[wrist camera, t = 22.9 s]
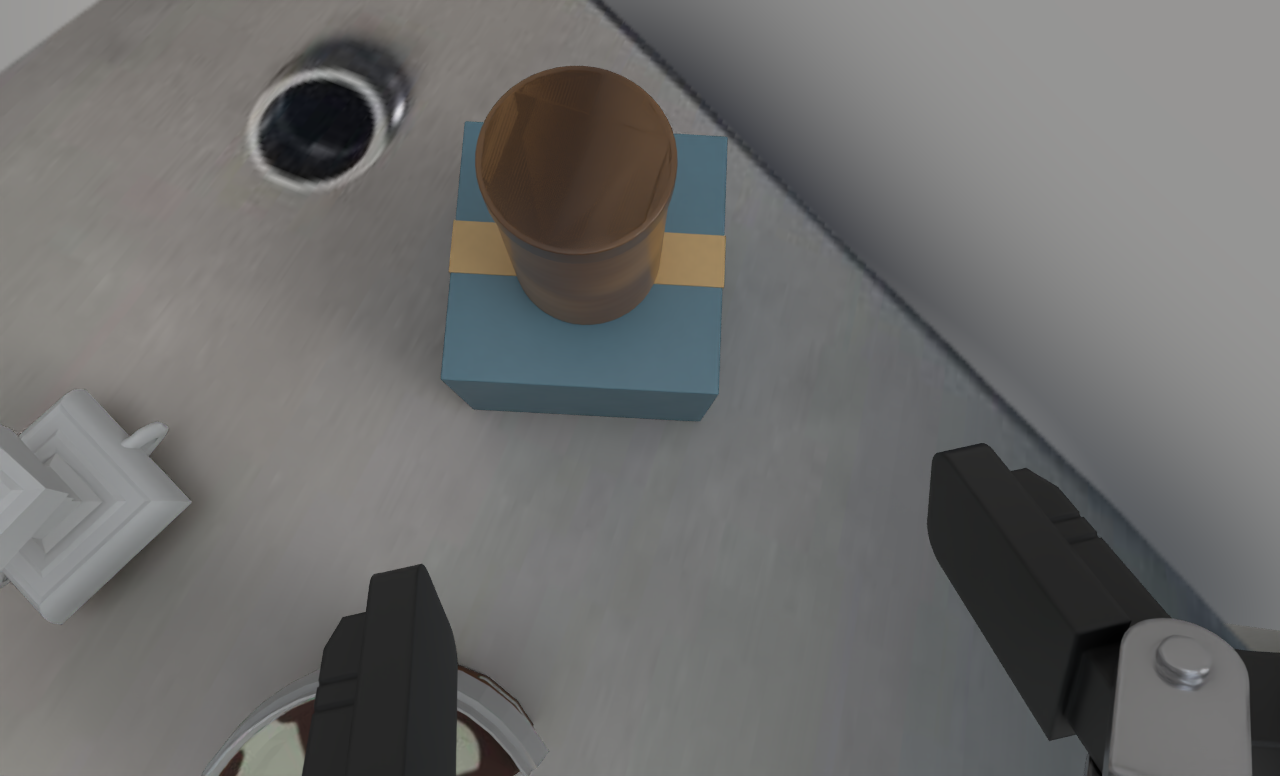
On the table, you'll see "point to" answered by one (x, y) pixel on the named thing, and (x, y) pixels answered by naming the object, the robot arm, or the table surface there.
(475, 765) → the food container
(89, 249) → the table surface
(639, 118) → the brown lidded canister
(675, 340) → the cardboard box
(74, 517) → the stamp
